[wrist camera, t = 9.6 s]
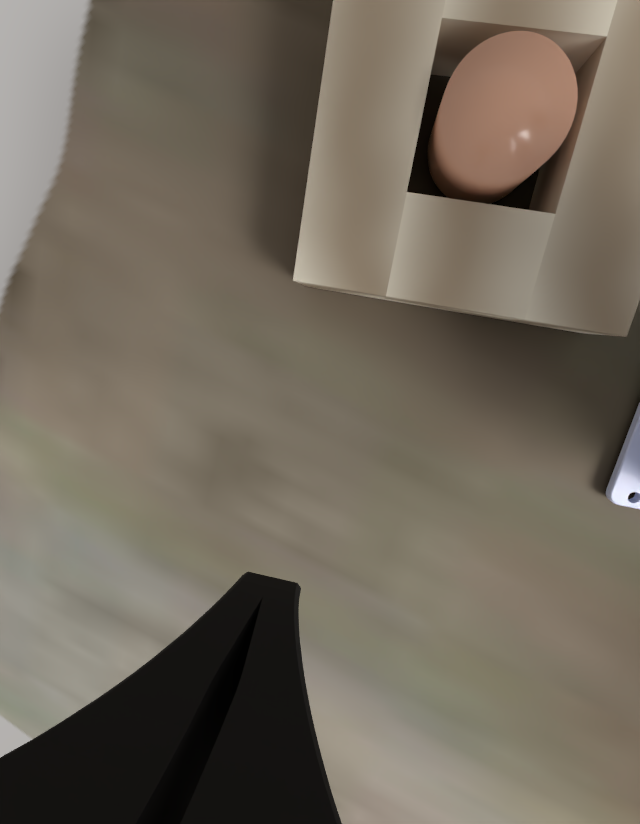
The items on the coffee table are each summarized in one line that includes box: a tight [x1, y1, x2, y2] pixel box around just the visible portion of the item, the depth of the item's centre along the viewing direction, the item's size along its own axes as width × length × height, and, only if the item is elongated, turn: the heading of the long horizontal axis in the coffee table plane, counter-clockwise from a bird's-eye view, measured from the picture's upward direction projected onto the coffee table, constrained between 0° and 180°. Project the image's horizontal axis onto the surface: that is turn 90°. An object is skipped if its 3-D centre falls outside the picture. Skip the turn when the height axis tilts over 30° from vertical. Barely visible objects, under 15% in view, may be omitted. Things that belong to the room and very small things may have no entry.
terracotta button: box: [427, 31, 578, 204], centre depth 14 cm, size 4×4×3 cm
